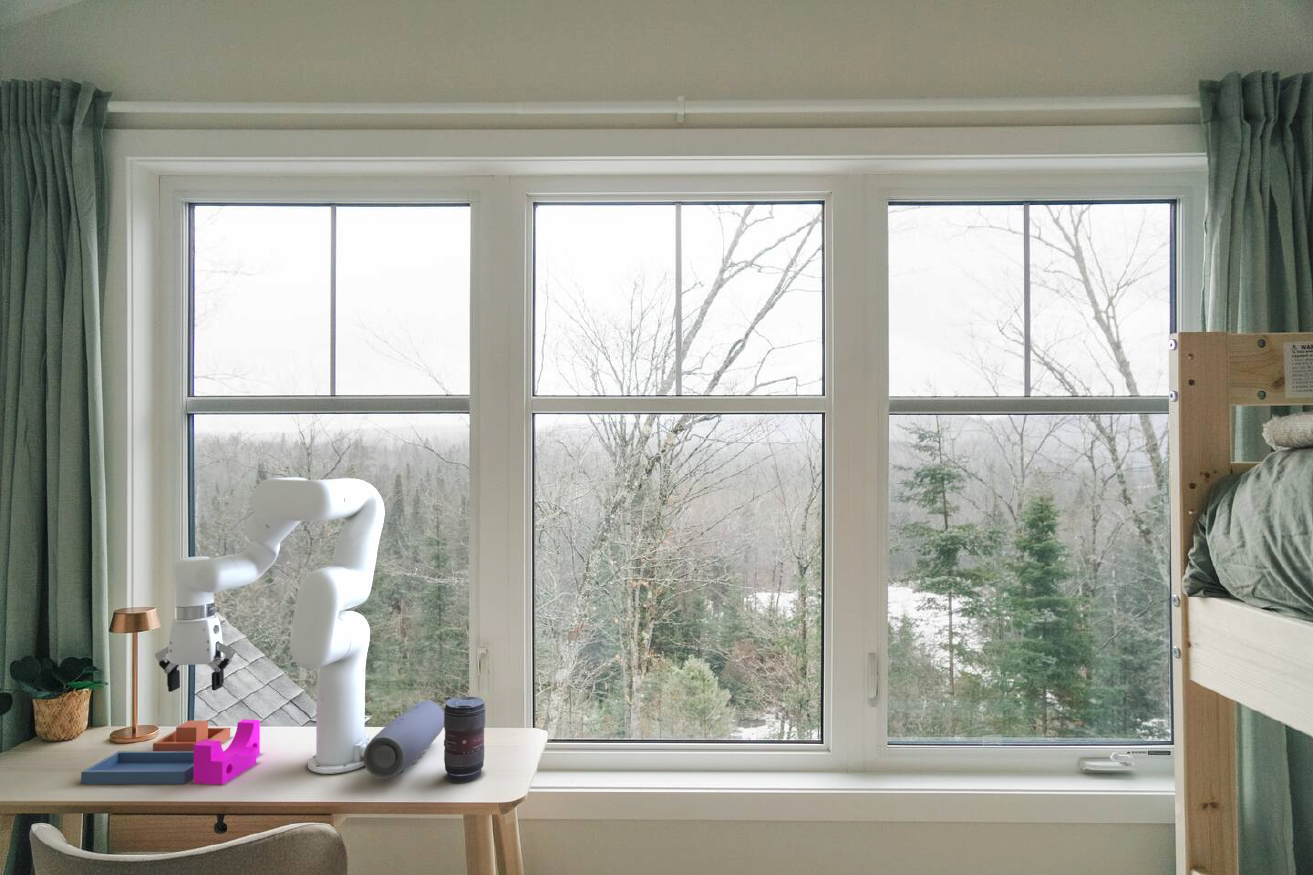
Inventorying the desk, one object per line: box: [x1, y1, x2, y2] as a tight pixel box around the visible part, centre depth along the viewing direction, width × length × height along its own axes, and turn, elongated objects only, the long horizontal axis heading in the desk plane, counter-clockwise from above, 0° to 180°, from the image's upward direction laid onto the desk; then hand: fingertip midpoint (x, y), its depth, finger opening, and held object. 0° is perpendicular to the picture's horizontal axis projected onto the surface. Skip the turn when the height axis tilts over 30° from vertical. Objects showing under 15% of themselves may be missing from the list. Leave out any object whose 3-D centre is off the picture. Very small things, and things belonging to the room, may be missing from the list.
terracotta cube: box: [175, 720, 209, 742], centre depth 173 cm, size 4×4×4 cm
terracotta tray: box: [152, 727, 231, 751], centre depth 173 cm, size 12×10×2 cm
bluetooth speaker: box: [364, 700, 444, 779], centre depth 164 cm, size 23×9×10 cm, turn 175°
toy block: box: [193, 718, 261, 786], centre depth 160 cm, size 15×6×8 cm, turn 172°
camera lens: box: [443, 696, 486, 784], centre depth 157 cm, size 8×8×15 cm
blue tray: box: [80, 750, 194, 785], centre depth 158 cm, size 21×11×2 cm, turn 90°
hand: (195, 689), depth 173 cm, fingers open, 9 cm apart
